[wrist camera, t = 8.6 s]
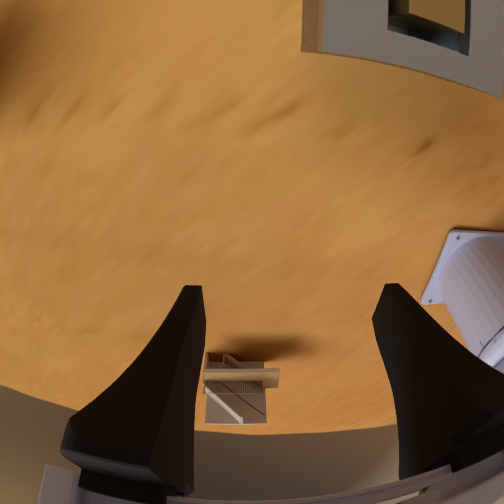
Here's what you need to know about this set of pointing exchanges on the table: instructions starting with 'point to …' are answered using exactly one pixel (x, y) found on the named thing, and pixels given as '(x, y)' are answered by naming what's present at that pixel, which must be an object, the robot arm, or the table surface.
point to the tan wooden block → (427, 15)
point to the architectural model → (237, 391)
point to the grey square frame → (411, 41)
